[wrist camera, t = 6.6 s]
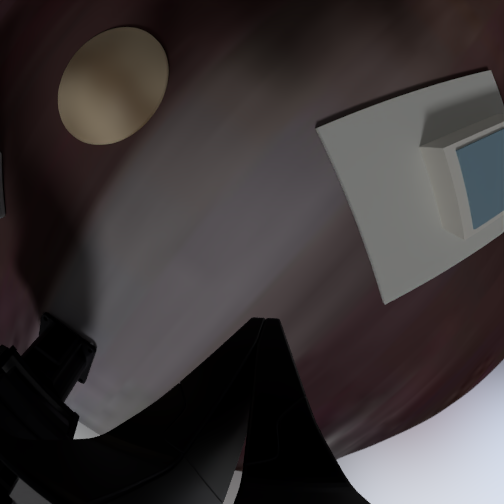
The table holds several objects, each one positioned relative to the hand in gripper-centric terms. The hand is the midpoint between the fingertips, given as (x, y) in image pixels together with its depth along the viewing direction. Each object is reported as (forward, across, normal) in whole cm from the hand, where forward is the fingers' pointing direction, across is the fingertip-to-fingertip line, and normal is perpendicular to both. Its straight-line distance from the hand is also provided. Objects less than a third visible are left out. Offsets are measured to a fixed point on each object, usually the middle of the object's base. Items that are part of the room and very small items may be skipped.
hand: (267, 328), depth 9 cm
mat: (+14, -12, -2) cm, 19 cm away
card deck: (+12, -11, -1) cm, 16 cm away
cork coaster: (+11, +12, -10) cm, 19 cm away
